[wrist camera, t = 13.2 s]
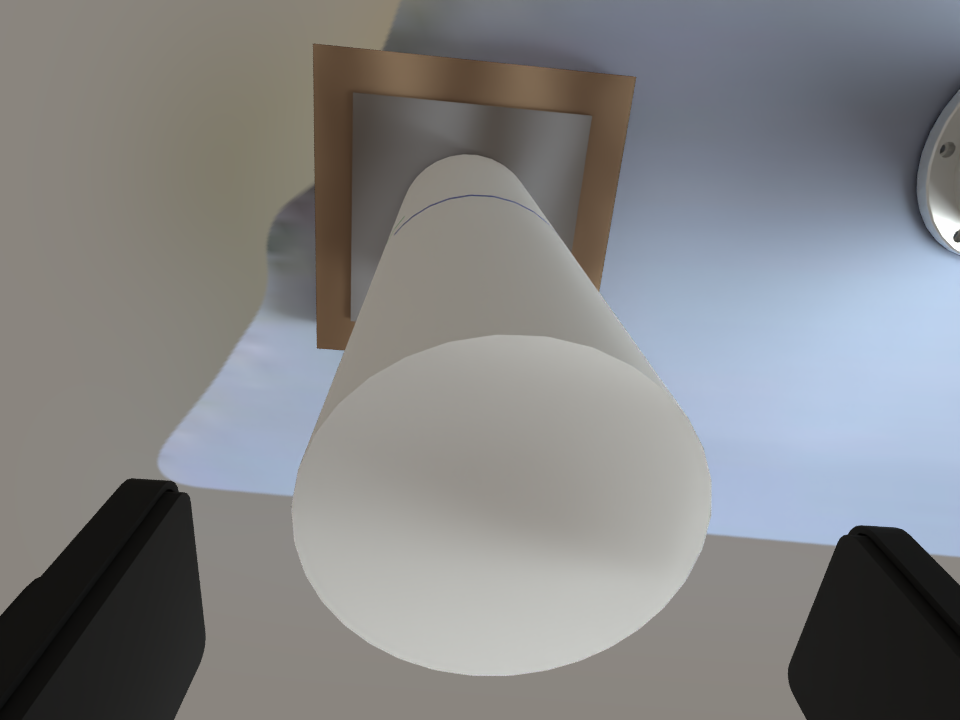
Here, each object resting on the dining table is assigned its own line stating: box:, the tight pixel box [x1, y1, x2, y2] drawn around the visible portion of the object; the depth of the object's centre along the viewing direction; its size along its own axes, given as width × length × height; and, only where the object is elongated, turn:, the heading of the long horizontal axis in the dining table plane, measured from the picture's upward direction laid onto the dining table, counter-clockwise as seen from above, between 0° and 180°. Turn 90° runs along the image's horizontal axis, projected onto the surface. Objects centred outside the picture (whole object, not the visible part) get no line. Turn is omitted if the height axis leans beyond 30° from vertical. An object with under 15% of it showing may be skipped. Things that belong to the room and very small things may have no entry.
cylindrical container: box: [291, 154, 711, 676], centre depth 22 cm, size 7×7×25 cm
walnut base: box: [313, 44, 636, 350], centre depth 36 cm, size 16×16×4 cm
